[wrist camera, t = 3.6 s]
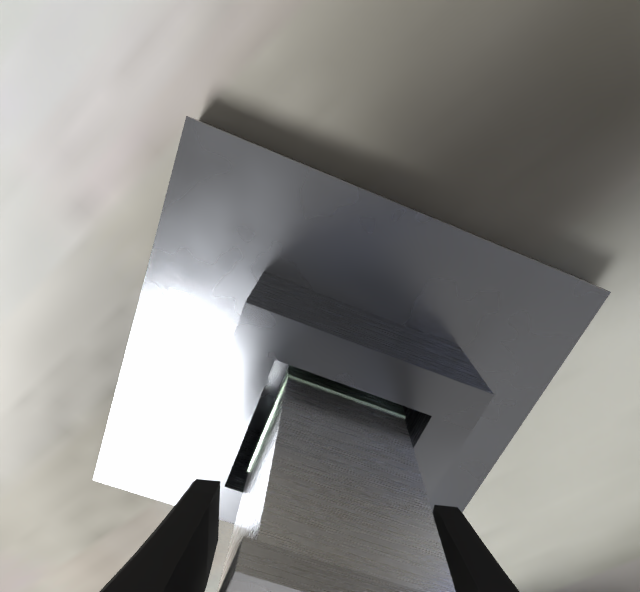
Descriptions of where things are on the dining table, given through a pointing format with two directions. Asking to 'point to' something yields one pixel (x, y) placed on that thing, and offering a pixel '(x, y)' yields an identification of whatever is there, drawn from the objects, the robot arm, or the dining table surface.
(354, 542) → the steel column
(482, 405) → the stand base
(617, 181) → the dining table surface
